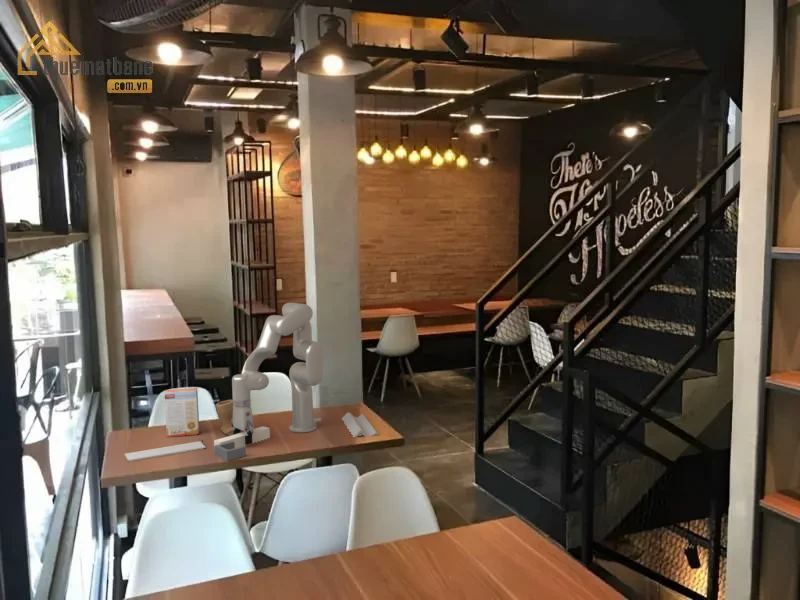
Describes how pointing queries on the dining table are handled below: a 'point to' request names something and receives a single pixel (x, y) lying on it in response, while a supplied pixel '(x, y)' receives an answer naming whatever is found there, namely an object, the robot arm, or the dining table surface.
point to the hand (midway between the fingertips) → (242, 441)
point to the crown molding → (359, 425)
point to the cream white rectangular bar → (239, 438)
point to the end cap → (229, 451)
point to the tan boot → (226, 416)
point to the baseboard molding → (163, 451)
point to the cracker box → (181, 412)
